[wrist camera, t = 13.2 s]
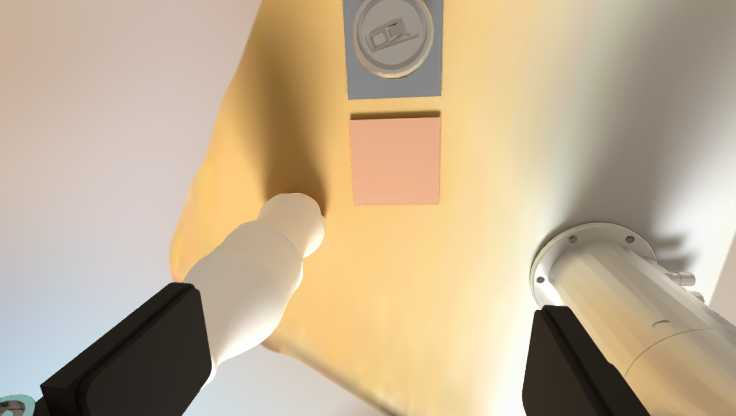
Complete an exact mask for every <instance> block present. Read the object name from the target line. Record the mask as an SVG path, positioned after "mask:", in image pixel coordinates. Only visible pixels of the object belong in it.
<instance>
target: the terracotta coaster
mask: <svg viewBox="0 0 736 416" xmlns="http://www.w3.org/2000/svg"><path fill="white" fill-rule="evenodd" d="M440 120H441V117H419V118H389V119H359V120H350V138H351V155H352V173H353V191H354V205H439V167H440Z"/></svg>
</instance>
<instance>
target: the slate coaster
mask: <svg viewBox="0 0 736 416" xmlns="http://www.w3.org/2000/svg"><path fill="white" fill-rule="evenodd" d="M364 1H365V0H343V13H344V31H345V49H346V66H347V84H348V100H352V99H377V98H402V97H428V96H441V73H442V26H443V0H422V1H423V2H424V3H425V5H426V7H427V8H428V10H429V12H430V14H431V17H432V22H433V26H434V34H433V43H432V46H431V48H430V51H429V54H428V56H427V57H426V59H425V60H424V61H423V62H422V64H421V65H420V66H419V67H418V69H417V70H416V71H415V72H413V73H412V74H410V75H409V76H407V77H405V78H401V79H387V78H384V77H381V76H379V75H376V74H374V73H372V72H370V71H369V70H368V69H367V68H366V67H364V66H363V65H362V63H361V62H360V60H359V59H358V57H357V55H356V54H355V50H354V47H353V43H352V25H353V22H354V18H355V15H356V12H357V11H358V9H359V8H360V6H361V5H362V3H363V2H364Z"/></svg>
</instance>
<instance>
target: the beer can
mask: <svg viewBox="0 0 736 416" xmlns="http://www.w3.org/2000/svg"><path fill="white" fill-rule="evenodd" d="M433 34H434V26H433V22H432V17H431V14H430V12H429V10H428V8H427V7H426V5H425V3H424V2H423V1H422V0H365V1H364V2H363V3H362V5H361V6H360V8H359V9H358V11H357V12H356V15H355V18H354V22H353V25H352V43H353V47H354V50H355V54H356V55H357V57H358V59H359V60H360V62H361V63H362V65H363V66H364V67H366V68H367V69H368V70H369V71H370V72H372V73H374V74H376V75H379V76H381V77H384V78H387V79H401V78H405V77H407V76H409V75H410V74H412V73H413V72H415V71H416V70H417V69H418V67H419V66H420V65H421V64H422V62H423V61H424V60H425V59H426V57H427V56H428V54H429V51H430V48H431V46H432V43H433Z"/></svg>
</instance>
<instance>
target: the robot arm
mask: <svg viewBox="0 0 736 416" xmlns="http://www.w3.org/2000/svg"><path fill="white" fill-rule="evenodd" d="M569 237H570V238H569ZM694 284H695V276H694V275H693V274H692V273H691V272H669V271H667V270H666V269H664V268H663V267H662V266H660V265H659V264H657V260H656V256H655V254H654V252H653V250H652V248H651V247H650V246H649V244H648V243H647V242H646V241H645V240H644V239H643V238H641V237H640V236H639V235H638V234H636V233H634V232H633V231H631V230H629V229H628V228H625V227H622V226H620V225H617V224H611V223H588V224H582V225H579V226H576V227H573V228H570V229H568V230H566V231H564V232H562V233H560V234H558V235H557V236H556V237H554V238H553V239H552V240H550V241H549V242H548V243H547V244H546V245H545V246H544V247H543V248H542V249H541V251H540V252H539V254H538V255H537V257H536V259H535V261H534V263H533V266H532V269H531V275H530V288H531V291H532V294H533V297H534V299H535V301H536V302H537V304H538V306H539V307H540V308H541V310H536V311H535V313H534V319H533V325H532V332H531V338H530V344H529V351H528V357H527V364H526V370H525V377H524V383H523V390H522V401H523V406H524V410H525V412H526V415H527V416H736V327H735V326H734V325H733V324H731V323H730V322H729V321H727V320H726V319H724V318H723V317H722V316H720V315H719V314H718V313H716V312H715V311H714V310H712V309H711V308H710V307H708V306H707V305H706V304H704V299H703V296H702V295H701V294H700V293H699V292H696V291H687V290H685V289H684V288H683V287H681V286H692V285H694ZM211 371H212V360H211V354H210V348H209V342H208V336H207V330H206V324H205V318H204V312H203V306H202V300H201V294H200V291H199V290H198V289H196V288H195V286H194V285H193V284H191V283H177V282H172V283H170V284H168V285H167V286H165V287H164V288H163V289H162V290H160V291H159V292H158V293H157V294H155V295H154V296H153V297H151V298H150V299H149V300H148V301H146V302H145V303H144V304H143V305H141V306H140V307H139V308H138V309H136V310H135V311H134V312H132V313H131V314H130V315H129V316H127V317H126V318H125V319H124V320H122V321H121V322H120V323H118V324H117V325H116V326H115V327H114V328H112V329H111V330H110V331H108V332H107V333H106V334H105V335H103V336H102V337H101V338H99V339H98V340H97V341H96V342H94V343H93V344H92V345H91V346H89V347H88V348H87V349H85V350H84V351H83V352H82V353H80V354H79V355H78V356H77V357H75V358H74V359H73V360H72V361H70V362H69V363H68V364H66V365H65V366H64V367H63V368H61V369H60V370H59V371H58V372H56V373H55V374H54V375H52V376H51V377H50V378H49V379H48V380H46V381H45V382H44V383H42V384H41V385H40V387H41V390H42V393H43V397H42V398H41V399H39V400H38V401H37V402H36V403H35V400H34V399H33V398H32V397H30V396H27V395H10V396H6V397H3V398H0V416H182V415H183V413H184V412H185V410H186V409H187V408H188V406H189V405H190V403H191V402H192V400H193V399H194V398H195V397H196V395H197V394H198V392H199V391H200V390H201V388H202V387H203V385H204V384H205V383H206V381H207V380H208V378H209V377H210V374H211Z"/></svg>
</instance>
